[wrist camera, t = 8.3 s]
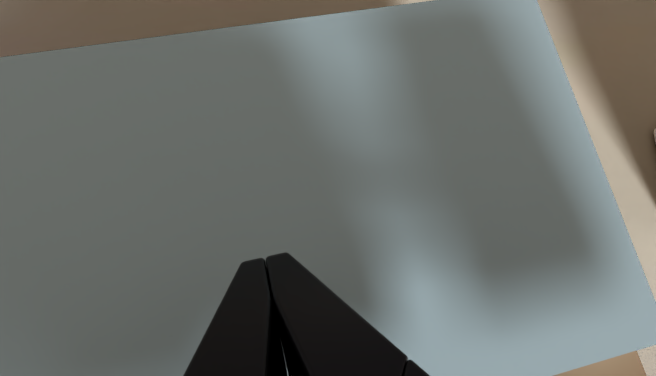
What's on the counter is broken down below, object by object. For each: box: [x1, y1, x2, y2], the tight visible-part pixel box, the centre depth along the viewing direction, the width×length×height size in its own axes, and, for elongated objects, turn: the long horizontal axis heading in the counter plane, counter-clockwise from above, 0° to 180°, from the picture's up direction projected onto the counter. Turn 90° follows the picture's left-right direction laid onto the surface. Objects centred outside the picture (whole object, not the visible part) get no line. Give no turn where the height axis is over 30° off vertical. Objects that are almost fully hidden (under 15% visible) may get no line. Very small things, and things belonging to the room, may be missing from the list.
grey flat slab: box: [0, 0, 656, 376], centre depth 11 cm, size 2×18×10 cm
